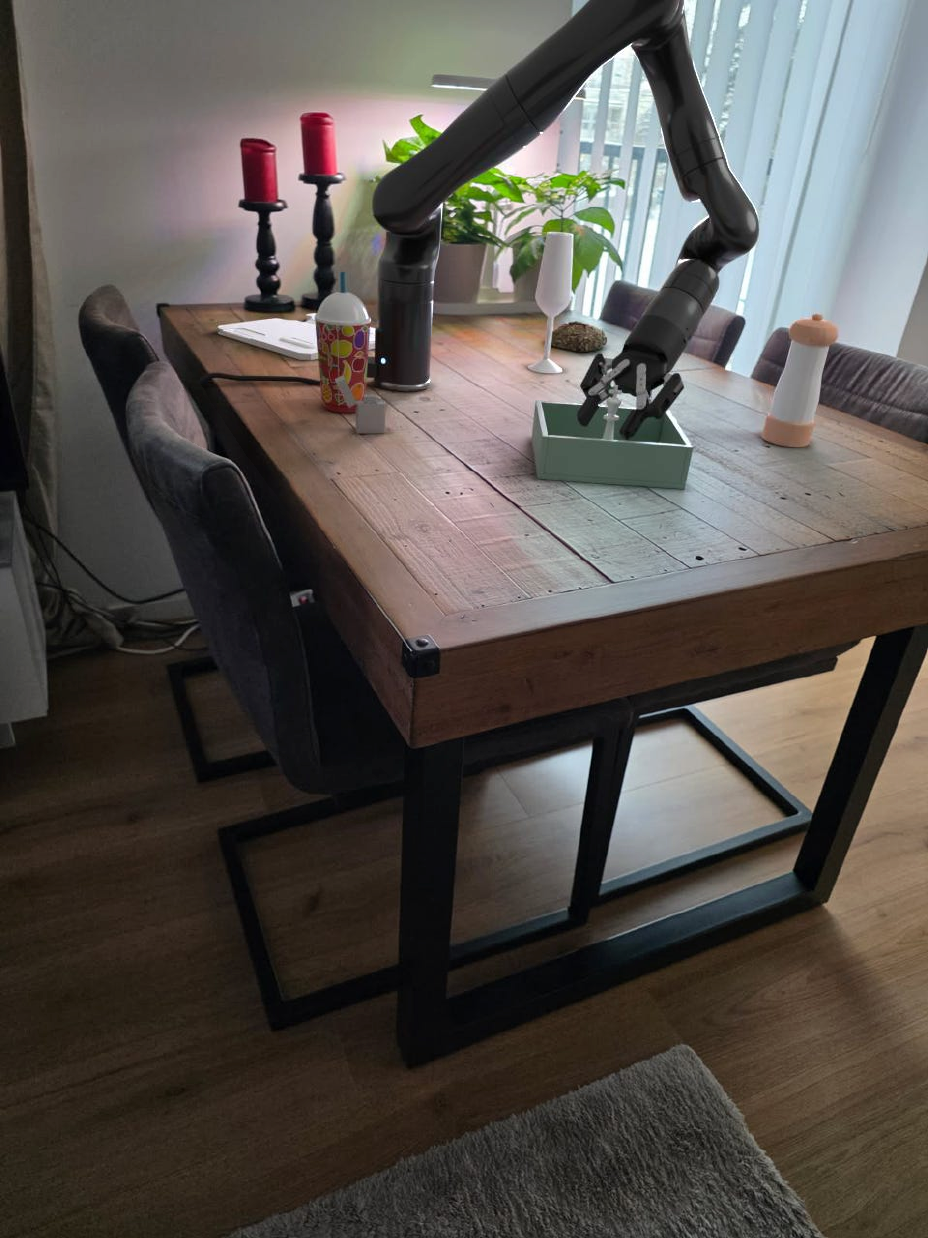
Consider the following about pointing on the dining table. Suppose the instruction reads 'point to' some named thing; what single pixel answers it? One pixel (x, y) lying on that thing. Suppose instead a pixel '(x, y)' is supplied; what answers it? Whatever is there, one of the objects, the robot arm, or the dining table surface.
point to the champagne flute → (554, 289)
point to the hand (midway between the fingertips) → (602, 429)
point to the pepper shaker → (800, 383)
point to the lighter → (365, 409)
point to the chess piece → (612, 413)
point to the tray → (282, 336)
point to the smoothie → (342, 347)
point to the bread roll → (578, 337)
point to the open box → (608, 448)
